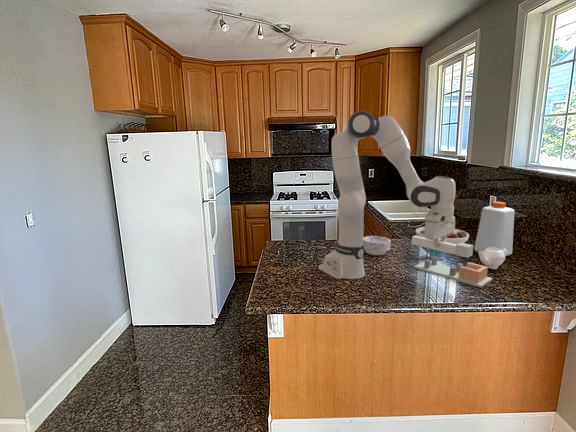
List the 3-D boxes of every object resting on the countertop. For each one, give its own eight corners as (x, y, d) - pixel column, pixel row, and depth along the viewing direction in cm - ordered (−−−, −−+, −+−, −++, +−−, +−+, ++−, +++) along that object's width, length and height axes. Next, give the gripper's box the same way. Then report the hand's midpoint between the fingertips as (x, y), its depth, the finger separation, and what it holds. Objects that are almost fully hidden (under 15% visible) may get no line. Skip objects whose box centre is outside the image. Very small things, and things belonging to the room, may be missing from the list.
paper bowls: (379, 247, 196) (380, 234, 194) (395, 255, 182) (396, 241, 180) (356, 250, 191) (356, 236, 190) (370, 258, 177) (371, 244, 175)
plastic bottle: (488, 247, 196) (494, 199, 190) (515, 255, 182) (522, 203, 176) (470, 251, 189) (476, 201, 183) (497, 259, 176) (504, 206, 170)
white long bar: (410, 244, 156) (411, 234, 155) (415, 242, 158) (416, 233, 157) (467, 257, 137) (468, 247, 136) (472, 255, 140) (473, 245, 139)
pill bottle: (446, 257, 178) (449, 232, 175) (441, 261, 173) (443, 235, 170) (431, 254, 183) (434, 230, 180) (426, 258, 178) (428, 233, 175)
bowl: (406, 239, 213) (407, 227, 211) (428, 231, 233) (429, 219, 231) (455, 250, 191) (457, 236, 190) (475, 240, 211) (477, 227, 209)
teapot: (515, 267, 164) (518, 249, 162) (486, 273, 156) (488, 254, 154) (497, 261, 173) (499, 243, 171) (468, 267, 165) (470, 248, 163)
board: (414, 267, 164) (415, 256, 163) (426, 262, 172) (427, 250, 170) (481, 287, 142) (482, 274, 140) (492, 280, 149) (493, 267, 148)
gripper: (446, 210, 154) (443, 239, 156) (422, 216, 141) (420, 248, 144) (460, 212, 149) (457, 242, 152) (437, 219, 136) (434, 252, 139)
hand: (439, 245), depth 148 cm, fingers closed on white long bar, 3 cm apart
